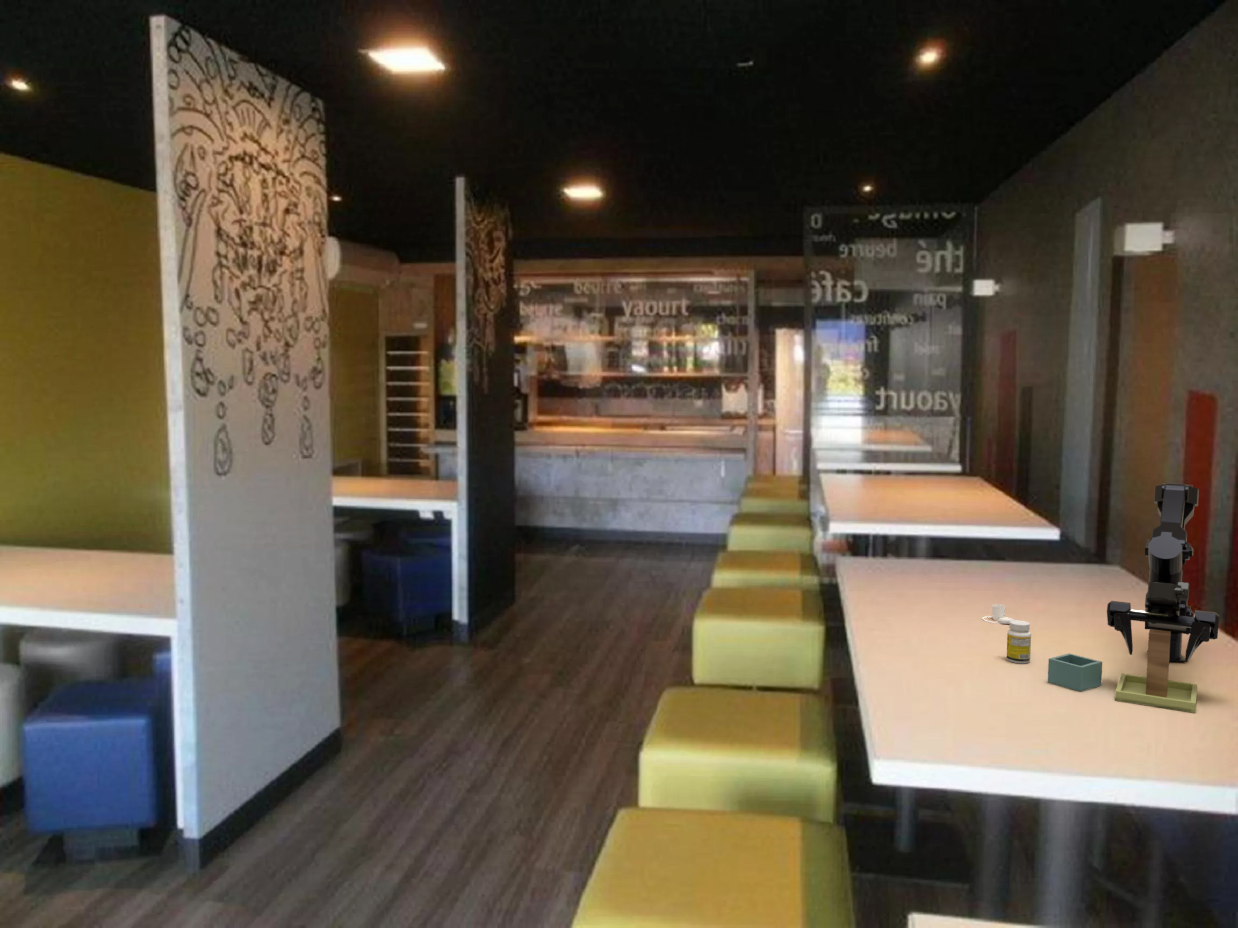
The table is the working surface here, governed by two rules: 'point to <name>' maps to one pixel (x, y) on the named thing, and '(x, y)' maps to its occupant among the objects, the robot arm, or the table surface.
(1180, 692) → the olive tray
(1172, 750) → the table surface
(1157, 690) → the walnut stick
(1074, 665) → the teal open box
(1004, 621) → the teacup and saucer
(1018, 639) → the supplement bottle
